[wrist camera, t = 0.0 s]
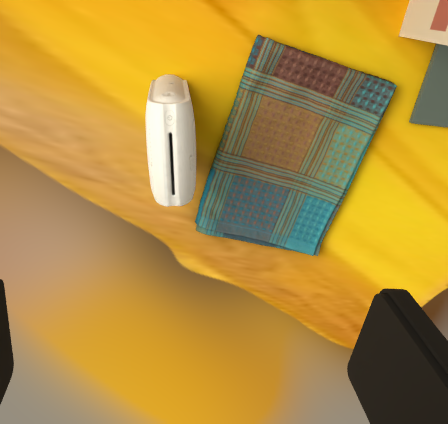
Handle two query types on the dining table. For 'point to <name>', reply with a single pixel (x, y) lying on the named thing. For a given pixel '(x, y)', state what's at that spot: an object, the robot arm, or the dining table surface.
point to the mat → (434, 92)
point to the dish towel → (290, 148)
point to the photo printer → (171, 141)
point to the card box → (426, 21)
